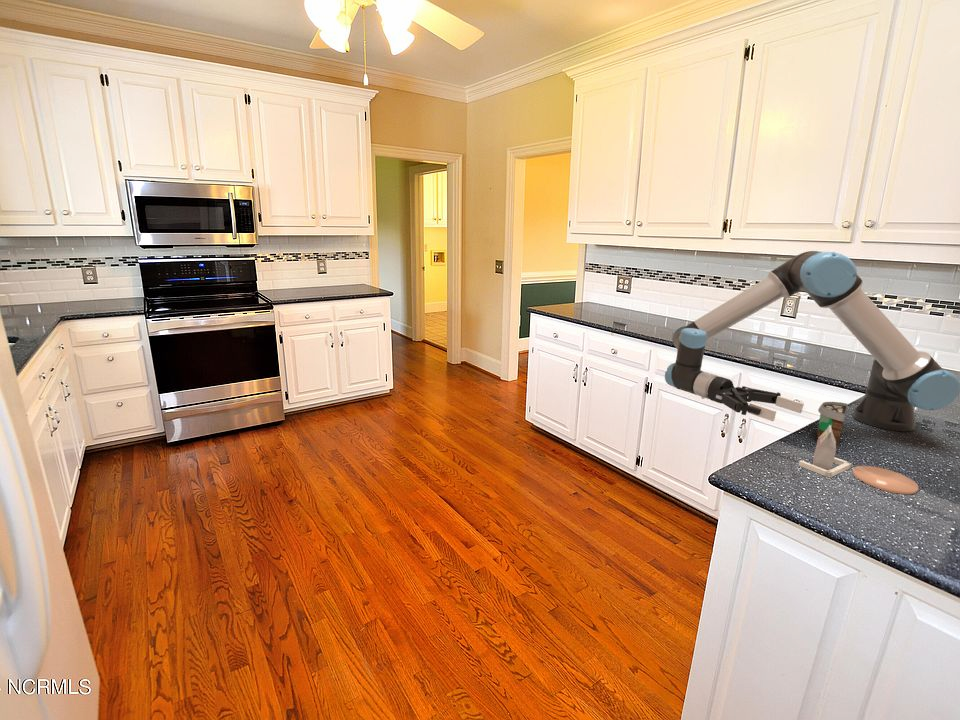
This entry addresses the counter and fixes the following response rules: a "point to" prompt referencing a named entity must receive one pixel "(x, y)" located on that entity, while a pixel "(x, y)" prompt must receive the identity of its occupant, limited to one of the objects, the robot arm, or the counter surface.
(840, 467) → the holder
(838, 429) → the food container
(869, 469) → the saucer
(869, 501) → the counter surface
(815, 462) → the tea bag
